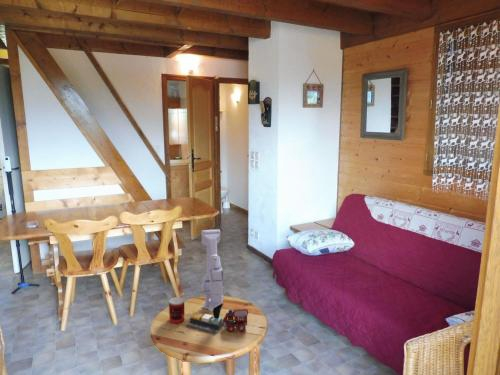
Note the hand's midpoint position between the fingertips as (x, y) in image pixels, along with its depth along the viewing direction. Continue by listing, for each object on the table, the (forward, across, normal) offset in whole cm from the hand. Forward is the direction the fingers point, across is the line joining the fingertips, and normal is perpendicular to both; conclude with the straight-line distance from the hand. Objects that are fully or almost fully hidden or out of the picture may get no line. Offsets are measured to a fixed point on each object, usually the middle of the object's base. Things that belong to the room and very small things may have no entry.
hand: (216, 317), depth 190 cm
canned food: (+5, +1, -22) cm, 22 cm away
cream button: (+3, -1, -5) cm, 6 cm away
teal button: (+3, 0, 0) cm, 3 cm away
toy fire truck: (+5, -2, +10) cm, 11 cm away
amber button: (+3, -1, -11) cm, 12 cm away
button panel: (+5, -1, -6) cm, 7 cm away
